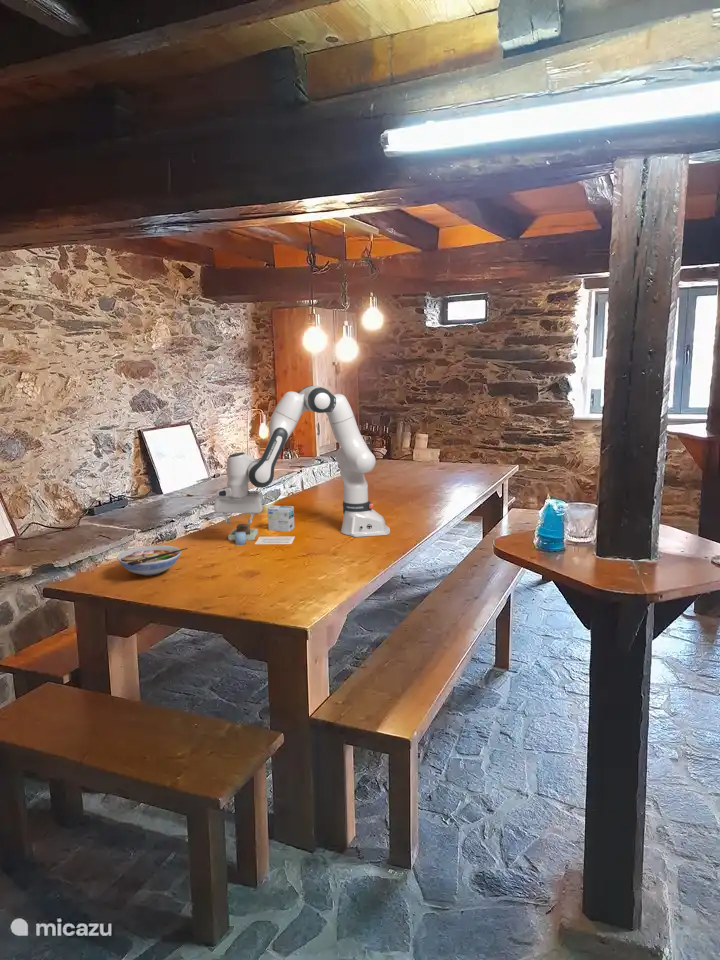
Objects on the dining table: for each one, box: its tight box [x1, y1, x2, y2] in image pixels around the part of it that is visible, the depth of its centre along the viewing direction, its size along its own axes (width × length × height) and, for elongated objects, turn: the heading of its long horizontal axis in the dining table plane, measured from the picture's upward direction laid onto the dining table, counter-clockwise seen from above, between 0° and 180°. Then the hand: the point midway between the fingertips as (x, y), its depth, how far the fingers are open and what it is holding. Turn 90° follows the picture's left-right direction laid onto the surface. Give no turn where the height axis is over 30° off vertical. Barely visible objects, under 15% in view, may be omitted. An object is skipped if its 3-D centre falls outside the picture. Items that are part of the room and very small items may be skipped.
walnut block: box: [235, 523, 251, 535], centre depth 293 cm, size 5×5×5 cm
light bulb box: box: [267, 504, 296, 532], centre depth 306 cm, size 11×7×11 cm, turn 74°
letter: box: [254, 535, 296, 545], centre depth 288 cm, size 16×12×1 cm
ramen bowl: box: [117, 544, 189, 577], centre depth 246 cm, size 25×23×8 cm
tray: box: [228, 528, 259, 542], centre depth 294 cm, size 11×11×2 cm
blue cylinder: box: [235, 531, 247, 546], centre depth 283 cm, size 4×4×5 cm
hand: (239, 522), depth 281 cm, fingers open, 8 cm apart
